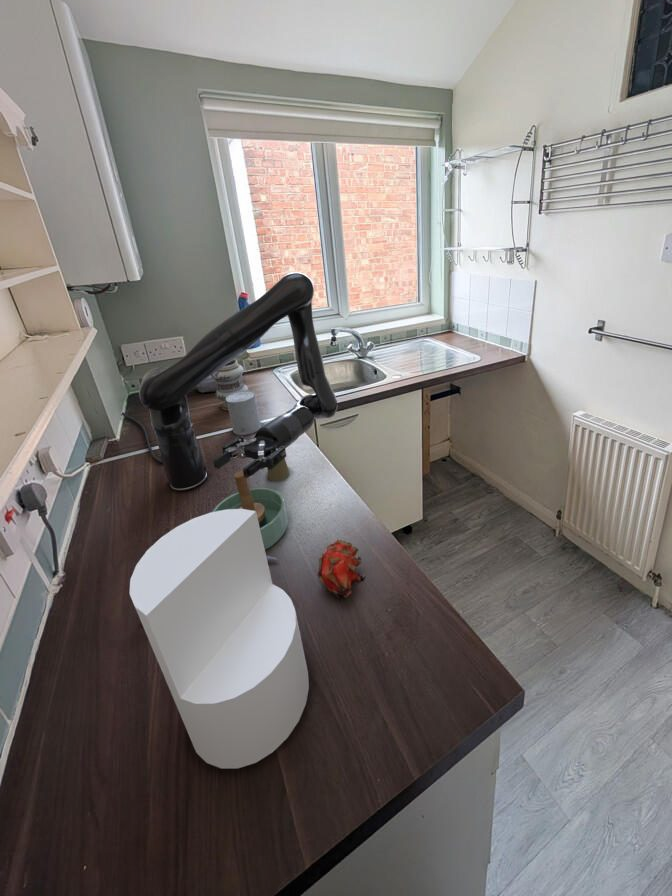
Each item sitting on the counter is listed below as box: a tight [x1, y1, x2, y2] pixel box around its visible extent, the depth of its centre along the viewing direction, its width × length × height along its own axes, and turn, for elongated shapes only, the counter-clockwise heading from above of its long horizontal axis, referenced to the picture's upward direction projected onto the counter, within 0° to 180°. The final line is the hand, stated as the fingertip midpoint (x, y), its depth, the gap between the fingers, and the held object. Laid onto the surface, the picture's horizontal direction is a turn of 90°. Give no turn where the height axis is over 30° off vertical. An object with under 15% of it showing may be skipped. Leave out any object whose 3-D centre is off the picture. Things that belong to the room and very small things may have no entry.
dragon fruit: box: [317, 539, 367, 598], centre depth 77 cm, size 8×8×12 cm
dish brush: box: [233, 470, 267, 528], centre depth 90 cm, size 7×7×15 cm
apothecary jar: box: [211, 358, 249, 411], centre depth 156 cm, size 12×12×18 cm
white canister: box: [226, 390, 262, 436], centre depth 138 cm, size 10×10×12 cm
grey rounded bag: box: [195, 375, 243, 393], centre depth 176 cm, size 15×8×20 cm
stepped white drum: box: [129, 509, 310, 769], centre depth 55 cm, size 17×17×28 cm
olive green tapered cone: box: [266, 457, 290, 482], centre depth 111 cm, size 6×6×11 cm
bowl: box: [211, 487, 289, 551], centre depth 92 cm, size 16×16×6 cm
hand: (229, 469), depth 85 cm, fingers open, 8 cm apart
